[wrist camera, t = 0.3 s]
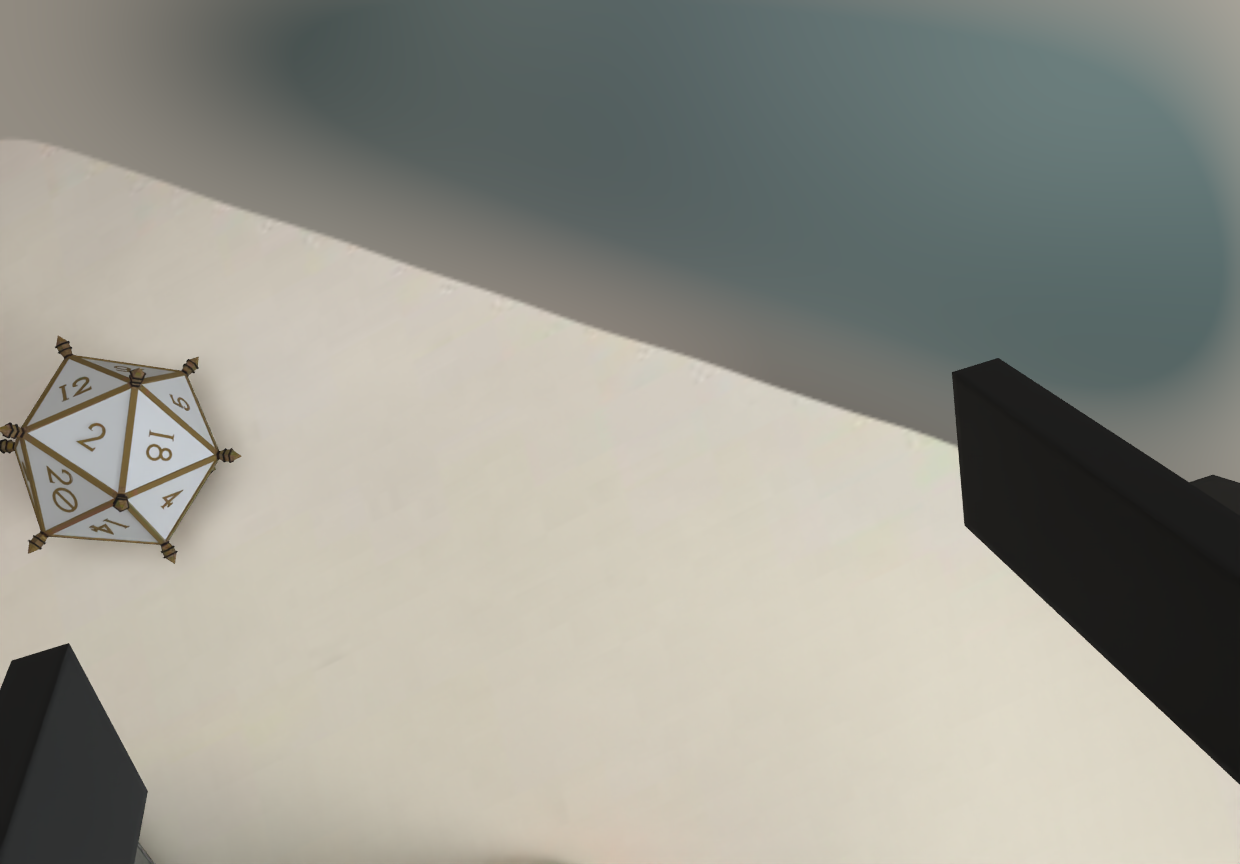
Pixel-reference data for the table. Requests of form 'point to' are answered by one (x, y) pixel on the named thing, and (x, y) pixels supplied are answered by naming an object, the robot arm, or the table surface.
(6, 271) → the table surface
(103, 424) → the game die
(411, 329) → the table surface
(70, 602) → the table surface
